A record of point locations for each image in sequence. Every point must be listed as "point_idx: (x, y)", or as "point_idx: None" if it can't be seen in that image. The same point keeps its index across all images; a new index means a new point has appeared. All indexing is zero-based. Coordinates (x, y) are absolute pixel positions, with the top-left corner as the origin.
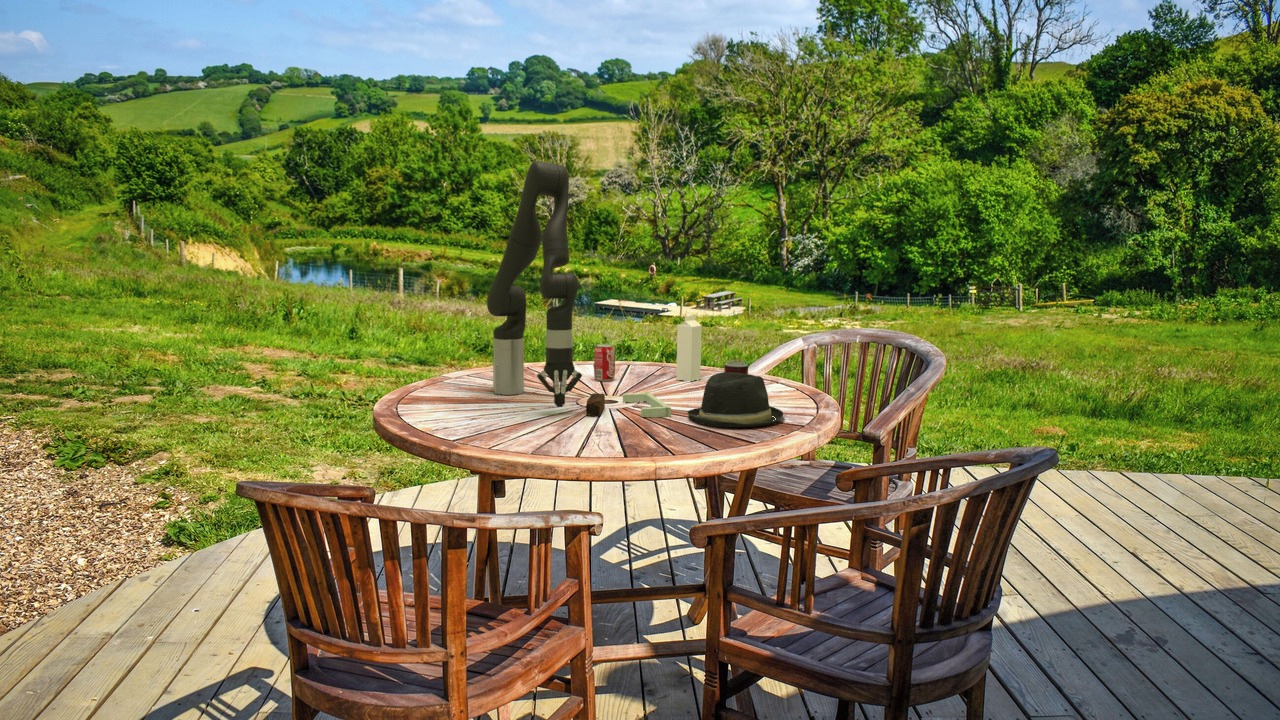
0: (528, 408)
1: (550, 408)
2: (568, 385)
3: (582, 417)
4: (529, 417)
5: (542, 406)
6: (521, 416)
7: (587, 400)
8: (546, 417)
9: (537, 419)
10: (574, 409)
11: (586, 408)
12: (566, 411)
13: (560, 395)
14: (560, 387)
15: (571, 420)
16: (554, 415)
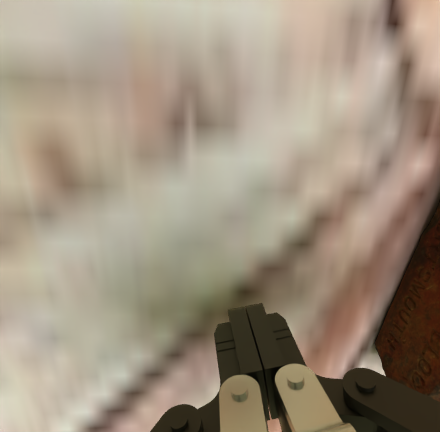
0: (20, 153)
1: (183, 159)
2: (381, 418)
3: (347, 368)
4: (74, 378)
5: (119, 86)
6: (23, 361)
7: (437, 391)
8: (167, 375)
9: (123, 411)
10: (338, 193)
11: None
12: (283, 246)
13: (270, 411)
14: (292, 419)
15: None
16: (209, 336)
